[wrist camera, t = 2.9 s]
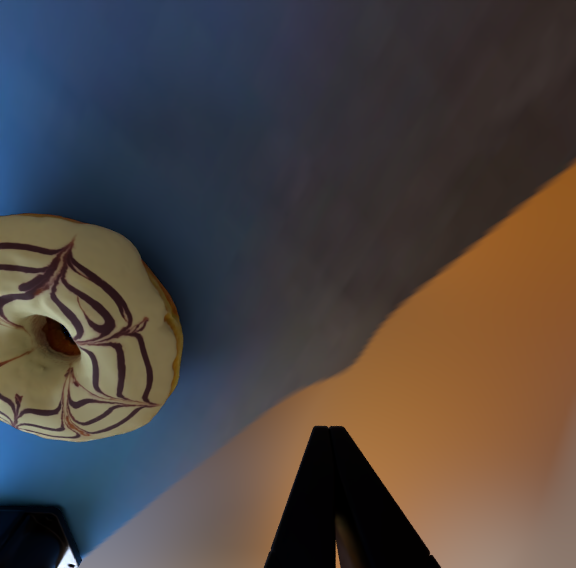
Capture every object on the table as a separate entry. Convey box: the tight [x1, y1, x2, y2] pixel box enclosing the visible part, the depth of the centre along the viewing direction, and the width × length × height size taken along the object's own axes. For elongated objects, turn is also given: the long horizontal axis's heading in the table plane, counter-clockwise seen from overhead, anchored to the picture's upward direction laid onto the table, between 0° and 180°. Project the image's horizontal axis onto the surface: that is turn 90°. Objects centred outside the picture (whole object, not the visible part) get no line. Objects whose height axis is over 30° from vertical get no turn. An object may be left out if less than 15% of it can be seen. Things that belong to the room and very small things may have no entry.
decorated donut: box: [0, 213, 183, 442], centre depth 14 cm, size 10×11×4 cm
